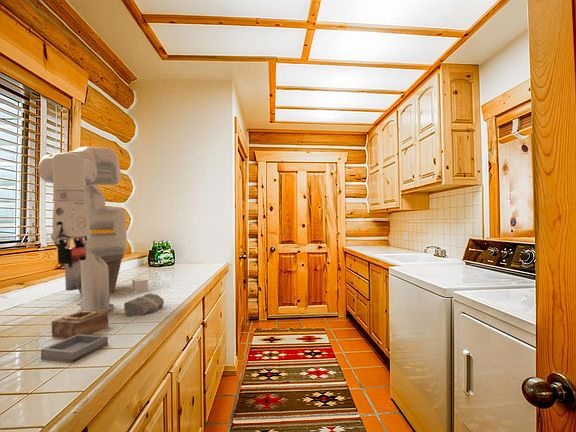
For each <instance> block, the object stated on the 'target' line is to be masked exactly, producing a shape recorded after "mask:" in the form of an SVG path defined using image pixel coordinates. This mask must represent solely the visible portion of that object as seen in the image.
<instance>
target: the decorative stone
mask: <svg viewBox="0 0 576 432" xmlns="http://www.w3.org/2000/svg"><path fill="white" fill-rule="evenodd" d="M164 304H165V300H164V299H163V297H161V296H160V295H159V294H154V293H147V294H144V295H142V296H141V295H140V296H138V297H136V298H134V299H131V300H128V301H125V302H124V304H123V306H124V309H123V310H124V311H125V314H126V315H127V316H128V317H130V316H131V317H134V316H135V317H137V316H138V317H140V316H142V317H143V316H145V315H149V314H152V313H155V312H157V311H159V310H160V309H161V308H163V306H164Z"/></svg>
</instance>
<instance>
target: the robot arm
mask: <svg viewBox="0 0 576 432" xmlns="http://www.w3.org/2000/svg"><path fill="white" fill-rule="evenodd" d="M118 157H119V156H118V154H117V152H116V151H115V150H114V149H113V148H110V147H99V146H98V147H97V146H81V147H78V148H77V149H75V150H73V151H65V152H57V153H50V154H49V153H48V154H47V155H44V156H43V157H42V158H41V159H40V160H39V163H38V165H37V166H38V167H37V170H38V175H39V177H40V179H42V180H43V181H44V182H45V183H50V184H52V186H53V187H52V188H53V190H52V191H53V209H52V211H53V212H52V233H51V236H50V239H51V240H52V241H53V242H54V245H55V249H56V250H57V263H58V264H59V265H65V264H70V263H72V253H71V249H69V248H71V241H72V243H73V245H74V246H73V247H85V256H84V257H80V264H81V286H82V296H81V299H80V300H79V301H77V302H76V305H75V306H78V307H79V306H80V308H79V309H78V310H77V312H79V311H98V312H108V313H109V312H110V311H112V310H114V309H115V304H112V303H110V293H109V274H108V265H107V264H106V262H105V261H103V260H102V259H101V258H100V257H102V256H112V255H121V254H125V253H126V252H127V248H128V238H127V236H128V235H127V219H126V217H127V216H126V213H125V210H124V209H123V208H121V207H118V206H108V207H107V206H106V196H105V194H104V193H103V191H101V189H99V188H98V187H97V186H98V185H100V186H101V185H103V186H109V185H110V186H114V185H115V186H116V185H118V184H120V182H121V180H122V173H121V168H120V167H121V166H120V161H119V158H118ZM108 230H109V231H110V230H112V231H113V232H96V233H95V232H94V233H91V231H108Z"/></svg>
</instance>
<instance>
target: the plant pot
mask: <svg viewBox="0 0 576 432" xmlns="http://www.w3.org/2000/svg"><path fill="white" fill-rule="evenodd" d="M124 254H125V253H124ZM124 254H121V255H112V256H102V257H100V258H101V259H102V260H103V261H105V262H106V264H107V265H108V274H109V294H112V293H113V292H114V291H115V289H116V285H117V282H118V277H119V273H120V268H121V265H122V260H123V259H124ZM80 266H81V264H80ZM77 290H78V292H79V294H80V296H81V297H82V286H81V289H77Z"/></svg>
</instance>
